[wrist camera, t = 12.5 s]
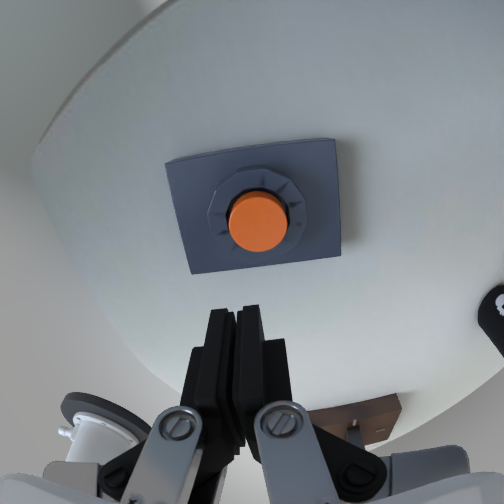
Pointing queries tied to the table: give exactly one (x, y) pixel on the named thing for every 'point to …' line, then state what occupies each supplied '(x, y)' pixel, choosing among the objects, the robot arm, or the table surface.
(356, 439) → the red-tipped grey block
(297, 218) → the button box
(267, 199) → the button
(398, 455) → the robot arm
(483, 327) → the beverage can
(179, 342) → the table surface
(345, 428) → the panel
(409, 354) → the table surface
